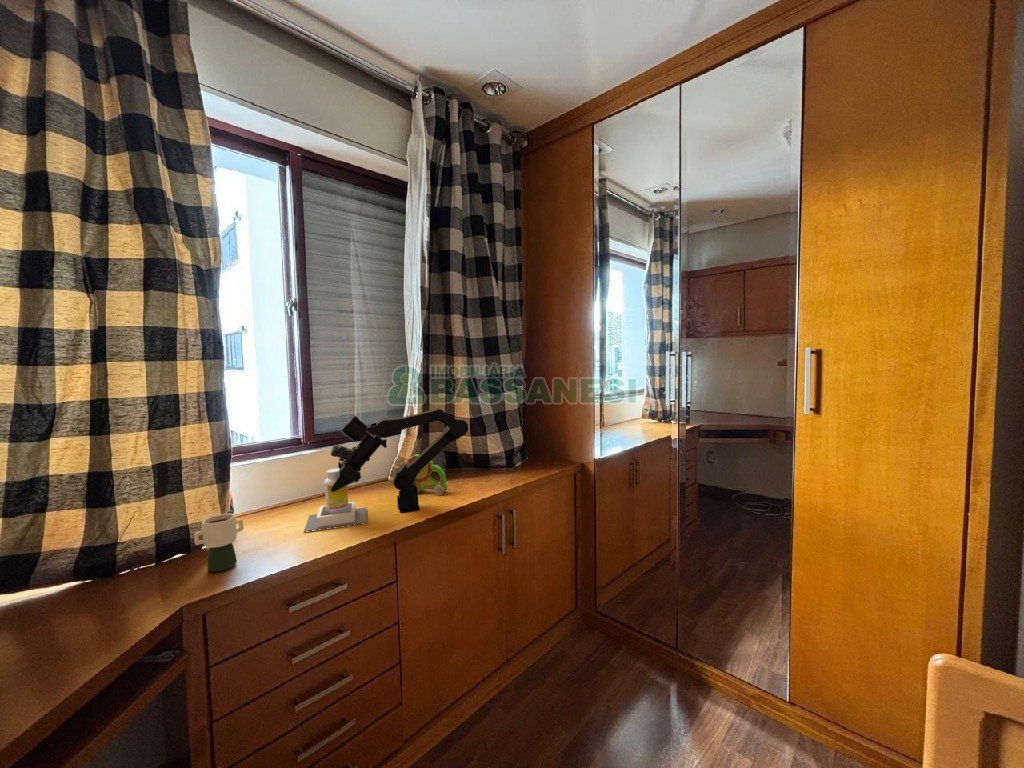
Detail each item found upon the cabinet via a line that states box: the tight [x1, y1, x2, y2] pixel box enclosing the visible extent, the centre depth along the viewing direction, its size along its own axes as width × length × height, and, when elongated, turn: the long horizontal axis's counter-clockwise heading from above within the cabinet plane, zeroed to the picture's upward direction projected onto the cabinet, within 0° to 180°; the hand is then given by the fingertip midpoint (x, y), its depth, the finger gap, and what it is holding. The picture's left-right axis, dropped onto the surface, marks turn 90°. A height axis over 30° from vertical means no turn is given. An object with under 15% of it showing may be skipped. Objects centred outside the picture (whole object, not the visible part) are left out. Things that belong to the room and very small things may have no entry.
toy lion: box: [405, 453, 448, 496], centre depth 164 cm, size 16×5×15 cm, turn 76°
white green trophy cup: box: [193, 513, 244, 572], centre depth 108 cm, size 11×7×13 cm, turn 145°
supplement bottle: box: [323, 467, 349, 512], centre depth 138 cm, size 7×7×13 cm
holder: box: [303, 501, 367, 532], centre depth 139 cm, size 18×14×4 cm
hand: (331, 488), depth 138 cm, fingers closed on supplement bottle, 7 cm apart
